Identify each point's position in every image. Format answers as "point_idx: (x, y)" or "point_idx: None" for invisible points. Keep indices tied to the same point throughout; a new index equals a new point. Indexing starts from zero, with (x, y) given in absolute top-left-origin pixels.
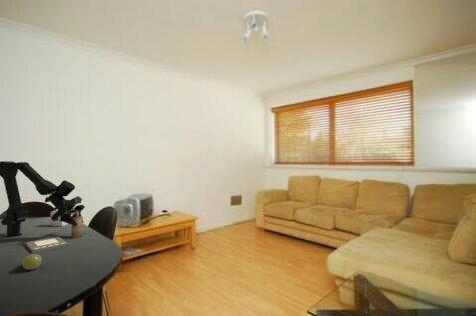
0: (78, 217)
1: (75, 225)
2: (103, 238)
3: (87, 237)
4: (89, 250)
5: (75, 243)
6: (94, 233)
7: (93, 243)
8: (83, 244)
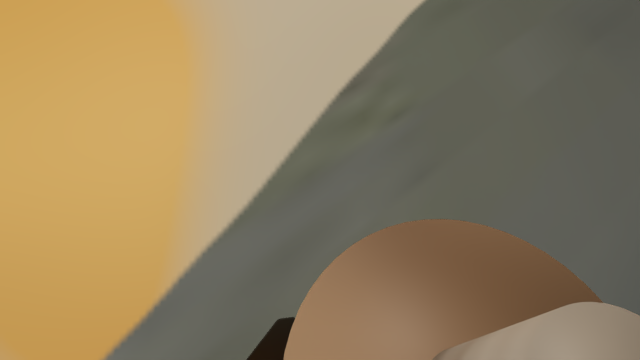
0: (439, 352)
1: None
2: (360, 84)
3: (373, 230)
4: (626, 9)
5: (582, 196)
6: (207, 269)
7: (501, 71)
8: (561, 116)
